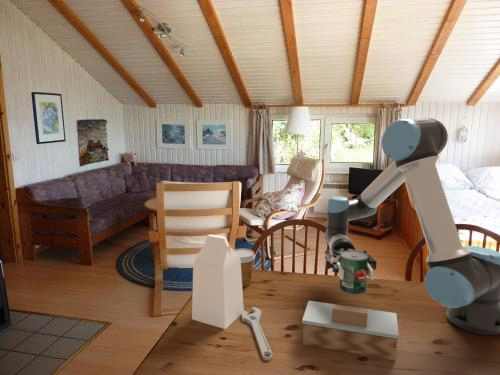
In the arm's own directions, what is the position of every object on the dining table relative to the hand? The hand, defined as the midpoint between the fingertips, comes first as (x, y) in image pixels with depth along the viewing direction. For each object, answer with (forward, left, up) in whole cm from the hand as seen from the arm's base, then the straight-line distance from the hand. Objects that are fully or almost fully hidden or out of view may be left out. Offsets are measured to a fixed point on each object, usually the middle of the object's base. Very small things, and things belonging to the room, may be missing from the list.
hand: (357, 275), depth 111 cm
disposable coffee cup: (+41, -19, -17) cm, 48 cm away
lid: (+1, +7, -10) cm, 12 cm away
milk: (+41, +5, -17) cm, 45 cm away
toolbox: (+1, +7, -17) cm, 18 cm away
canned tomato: (+1, -4, -7) cm, 8 cm away
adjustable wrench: (+27, +11, -17) cm, 34 cm away
